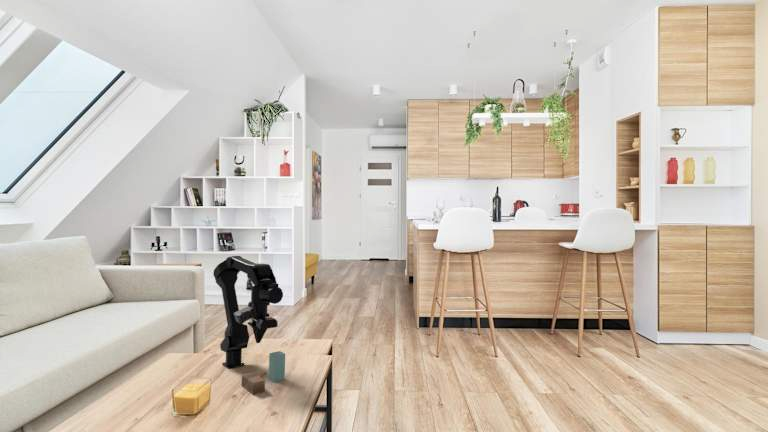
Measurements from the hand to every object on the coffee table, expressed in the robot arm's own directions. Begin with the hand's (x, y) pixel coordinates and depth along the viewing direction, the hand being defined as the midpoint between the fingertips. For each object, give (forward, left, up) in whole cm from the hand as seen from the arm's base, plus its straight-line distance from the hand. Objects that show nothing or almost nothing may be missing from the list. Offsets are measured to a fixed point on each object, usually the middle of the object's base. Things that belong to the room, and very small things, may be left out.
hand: (258, 342), depth 145 cm
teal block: (+6, +4, -12) cm, 14 cm away
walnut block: (+5, -6, -10) cm, 12 cm away
